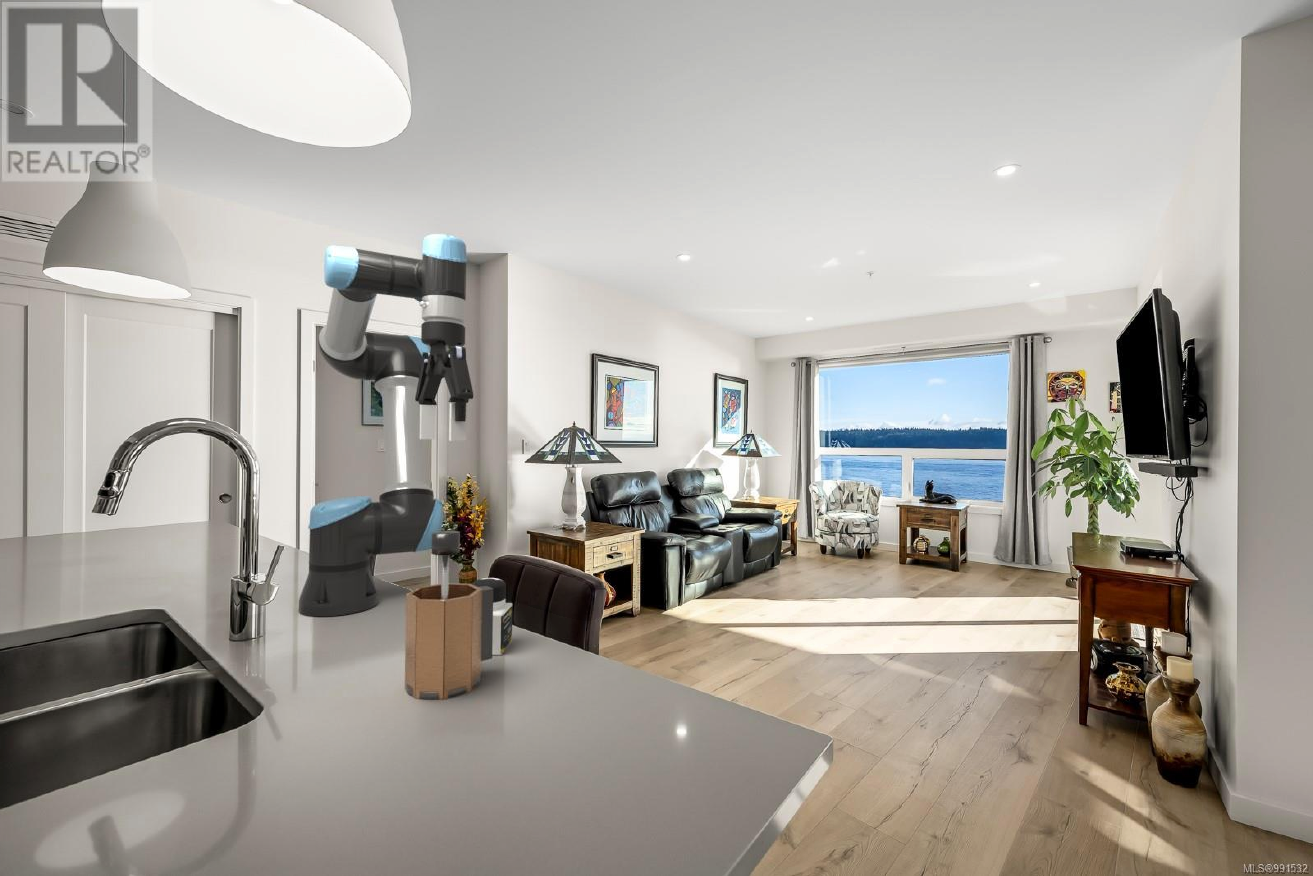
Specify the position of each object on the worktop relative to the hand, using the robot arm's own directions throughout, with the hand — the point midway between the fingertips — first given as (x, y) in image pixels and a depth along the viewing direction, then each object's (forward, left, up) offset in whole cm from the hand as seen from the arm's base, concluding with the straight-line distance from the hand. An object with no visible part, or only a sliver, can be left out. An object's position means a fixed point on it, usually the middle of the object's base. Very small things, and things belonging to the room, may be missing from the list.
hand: (441, 440), depth 108 cm
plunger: (+19, -7, -35) cm, 41 cm away
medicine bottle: (+9, +5, -37) cm, 38 cm away
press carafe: (+19, -6, -37) cm, 42 cm away
